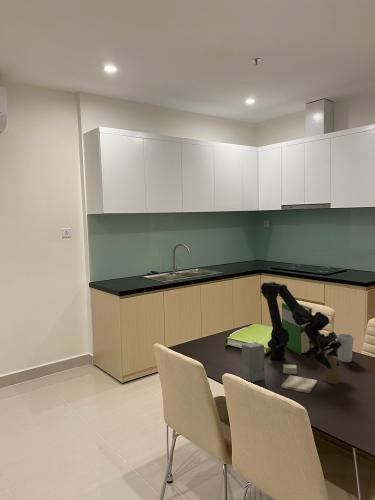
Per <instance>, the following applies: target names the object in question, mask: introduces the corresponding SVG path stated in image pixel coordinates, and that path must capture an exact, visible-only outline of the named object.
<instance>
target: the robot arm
mask: <svg viewBox="0 0 375 500" xmlns="http://www.w3.org/2000/svg"><path fill="white" fill-rule="evenodd" d="M260 291H261V293H262V296H263V297H264V298H265V300H266V302H267V308H268V312H269V316H270V322H271V327H272V329H271V333H270V338H271V339H270V340H269V341H267V344H266V345H267V347H268V348H269V349H270V357H269V360H272V361H278V362H282V361H283V360H285V358H286V349H285V346H287V343H288V341H289V335H288V330H287V329H286V330H285V329H284V328H283V326H282V316H281V314H280V308H279V302H278V299H277V298H278V295H279V297H281V299H282V300H283V303H286V304H287V306H288V307H289V309H290V310H291V312H292V317H293V319H294V321H295V323H296V324H297V325H304V324H307V325H306V326H304V327H301V333H304V332H305V334H306V335H307V337H308V338H309V340H310V341H309V344H312V348H310V349H309V350H308V351H307V352H304V356H305V358H306V360H310V359H312V360H314V361H317V362H318V363H320V364H321V365H322V366H324V367H325V368H326V367H327V368H329V369H330V368H331V366H330V364H329V362H328V361H327V359H326V357H327V356H329V355H332V356H336V357H337V358H338V348H339V347H341V346H342V344H341V343H340V341H337V334H336V333H335V331H332V332H331V331H330V332H329V333H328V335H325V334H324V333H322V334H321V331H322V330H323V329H325V328H326V326H328V325H329V324H330V319H329V316H327V315H325V314H324V313H322V312H321V311H317V312H316V313H315V314H314V315H313V314H312V315H311V314H310V313H309V312H308V311H307V310H306V309H305V308H303V307H301V306H300V305H299V304H300V303H299V302H298V301H297V300H296V298H295V297H294V295H293V294H292V293H291V292H290V290H289V289H288V286H287V284H285V283H284V284H283V283H282V284H281V283H276V282H275V281H267V282H263V283H262V284H261V286H260ZM308 323H310V324H308ZM325 353H327V354H326V356H325ZM339 366H340V363H339V361H338V363H337V367H339Z"/></svg>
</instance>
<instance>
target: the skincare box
mask: <svg viewBox="0 0 375 500" xmlns="http://www.w3.org/2000/svg"><path fill="white" fill-rule="evenodd" d="M241 365H242V366H241V367H242V368H241V370H242V371H241V374H242V375H241V377H242V379H243V380H245V381H248V382H249V383H250V382H252V383H254V382H259V381H262V380H265V345H264V344H262V343H259V342H257V341H256V342H254V341H253V342H246V343H242V344H241Z"/></svg>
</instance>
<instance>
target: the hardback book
mask: <svg viewBox="0 0 375 500" xmlns="http://www.w3.org/2000/svg"><path fill="white" fill-rule="evenodd" d="M299 305H300V306H301V307H303V308H305V309H306V310H307V311H308V312H309V313H310V314H311V315H313V308H312V307H309V306H307V305H304V304H301V303H299ZM281 321H282V326H283V328H284V329H285V330H286V329H287V330H288V335H289V341H288V343H287V346H284V348H287V349H289V350H290V351H292V352H293V353H295V354H298V355H302V353H306V352H307V351H308V350H309V349H310V348H313V345H312V344H309V341H310V340H309V338H308V337H307V335H306V334H305V332H304V333H301V327H304V326H306V325H307V324H304V325H297V324H296V323H295V321H294V319H293V317H292V312H291V310H290V309H289V307H288V306H287V304H286V303H285V302H281ZM308 324H310V323H308Z"/></svg>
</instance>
